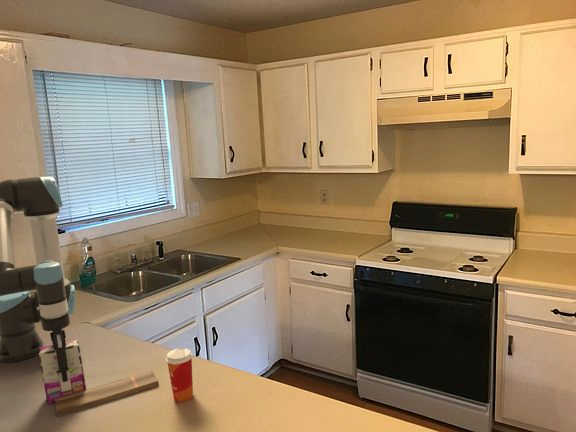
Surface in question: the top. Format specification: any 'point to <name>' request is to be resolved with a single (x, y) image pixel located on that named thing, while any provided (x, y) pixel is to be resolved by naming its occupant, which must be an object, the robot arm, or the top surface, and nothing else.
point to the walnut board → (105, 393)
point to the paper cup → (180, 374)
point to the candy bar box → (51, 366)
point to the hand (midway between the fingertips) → (65, 385)
